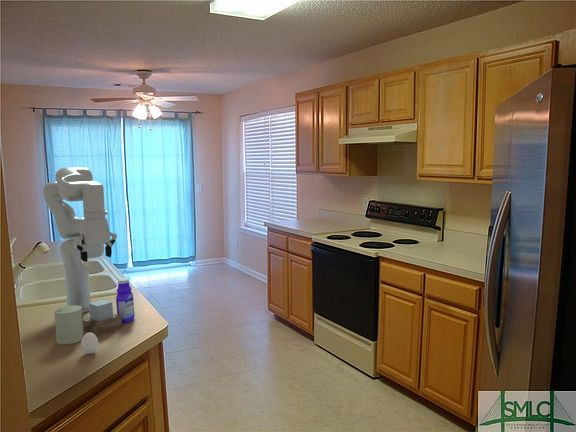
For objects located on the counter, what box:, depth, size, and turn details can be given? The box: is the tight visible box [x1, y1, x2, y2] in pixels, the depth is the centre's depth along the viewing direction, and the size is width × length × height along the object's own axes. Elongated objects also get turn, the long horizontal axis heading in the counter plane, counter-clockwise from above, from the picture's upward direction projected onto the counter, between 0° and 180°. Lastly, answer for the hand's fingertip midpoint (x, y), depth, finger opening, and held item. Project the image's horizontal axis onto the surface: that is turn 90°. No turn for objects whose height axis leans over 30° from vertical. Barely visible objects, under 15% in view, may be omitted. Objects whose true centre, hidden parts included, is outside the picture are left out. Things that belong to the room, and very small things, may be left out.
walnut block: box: [82, 313, 123, 337], centre depth 172 cm, size 10×10×5 cm
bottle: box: [115, 277, 135, 324], centre depth 180 cm, size 7×6×17 cm
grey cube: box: [89, 299, 114, 322], centre depth 171 cm, size 6×6×6 cm
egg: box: [80, 332, 99, 355], centre depth 149 cm, size 5×5×7 cm
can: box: [53, 305, 85, 345], centre depth 162 cm, size 9×9×12 cm
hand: (96, 258), depth 172 cm, fingers open, 9 cm apart
